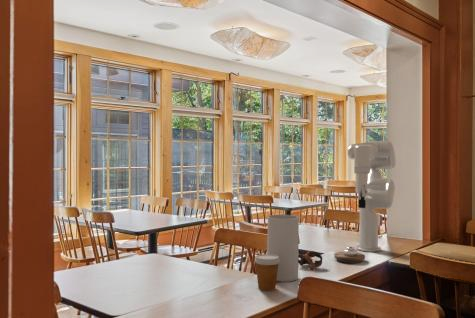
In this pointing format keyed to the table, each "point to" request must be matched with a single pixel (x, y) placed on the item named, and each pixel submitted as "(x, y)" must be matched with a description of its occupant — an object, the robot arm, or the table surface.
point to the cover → (350, 252)
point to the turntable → (349, 258)
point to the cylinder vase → (284, 245)
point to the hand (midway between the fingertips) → (361, 207)
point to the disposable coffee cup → (267, 271)
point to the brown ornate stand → (307, 260)
